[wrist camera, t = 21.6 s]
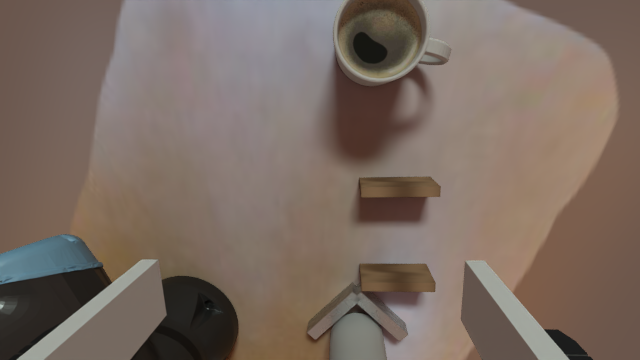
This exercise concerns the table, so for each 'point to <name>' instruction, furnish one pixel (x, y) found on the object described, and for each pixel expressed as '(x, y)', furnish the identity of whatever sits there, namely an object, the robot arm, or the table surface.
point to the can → (357, 339)
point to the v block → (365, 301)
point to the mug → (384, 40)
